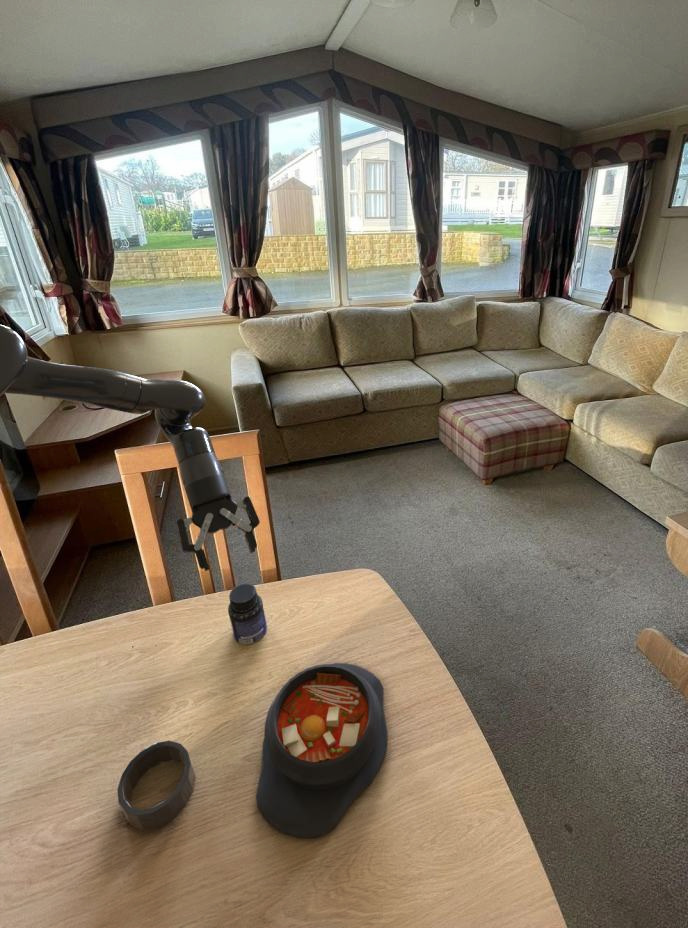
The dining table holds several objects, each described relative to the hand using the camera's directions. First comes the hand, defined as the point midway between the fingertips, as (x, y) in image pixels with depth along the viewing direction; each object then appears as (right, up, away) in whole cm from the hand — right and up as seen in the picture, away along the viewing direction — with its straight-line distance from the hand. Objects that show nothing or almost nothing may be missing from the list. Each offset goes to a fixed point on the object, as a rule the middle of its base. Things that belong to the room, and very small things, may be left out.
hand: (230, 561), depth 90 cm
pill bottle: (+4, -15, +1) cm, 15 cm away
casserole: (+20, -23, -17) cm, 35 cm away
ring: (-2, -26, -22) cm, 34 cm away
